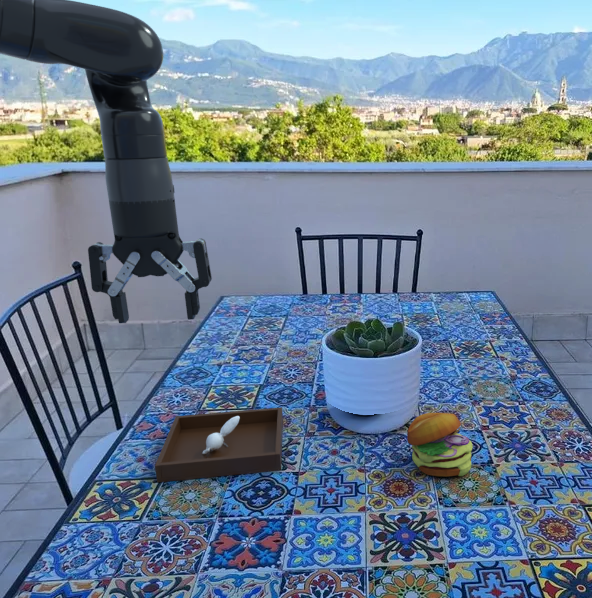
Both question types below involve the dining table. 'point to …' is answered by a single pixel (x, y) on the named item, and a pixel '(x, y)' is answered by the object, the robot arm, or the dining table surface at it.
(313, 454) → the dining table surface
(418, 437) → the cheeseburger
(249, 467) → the tray
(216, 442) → the rabbit figurine
